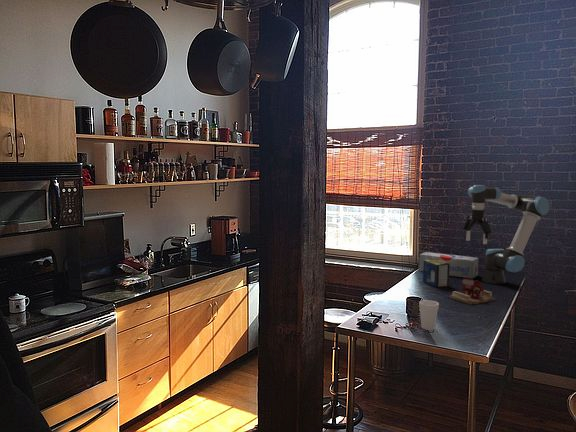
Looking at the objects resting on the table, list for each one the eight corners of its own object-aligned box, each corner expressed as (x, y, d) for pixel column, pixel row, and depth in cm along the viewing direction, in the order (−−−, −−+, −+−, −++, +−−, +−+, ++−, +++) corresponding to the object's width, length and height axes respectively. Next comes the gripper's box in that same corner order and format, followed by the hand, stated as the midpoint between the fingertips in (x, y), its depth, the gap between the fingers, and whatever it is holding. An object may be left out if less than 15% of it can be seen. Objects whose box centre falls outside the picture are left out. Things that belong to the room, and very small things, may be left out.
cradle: (473, 293, 307) (473, 286, 306) (494, 300, 292) (494, 293, 292) (449, 297, 298) (450, 290, 297) (470, 304, 283) (470, 297, 283)
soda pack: (478, 276, 354) (479, 257, 352) (472, 279, 344) (473, 260, 342) (424, 268, 378) (425, 250, 377) (418, 271, 368) (418, 253, 367)
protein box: (435, 280, 339) (436, 258, 338) (449, 286, 325) (450, 263, 323) (422, 281, 336) (423, 259, 334) (435, 287, 322) (436, 264, 320)
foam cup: (415, 324, 248) (416, 300, 247) (433, 324, 249) (434, 299, 248) (422, 331, 239) (423, 305, 238) (440, 331, 240) (441, 305, 238)
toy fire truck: (481, 299, 288) (482, 282, 287) (460, 296, 296) (460, 279, 294) (484, 297, 294) (485, 280, 293) (463, 293, 301) (464, 277, 300)
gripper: (458, 207, 318) (457, 239, 320) (490, 211, 296) (488, 245, 298) (466, 207, 321) (465, 238, 324) (498, 210, 299) (496, 244, 302)
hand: (476, 242), depth 311 cm, fingers open, 13 cm apart
